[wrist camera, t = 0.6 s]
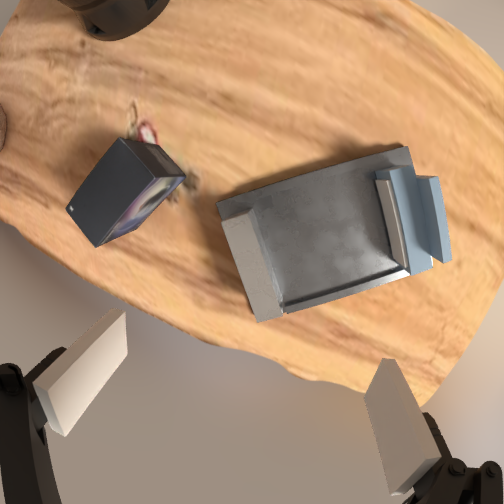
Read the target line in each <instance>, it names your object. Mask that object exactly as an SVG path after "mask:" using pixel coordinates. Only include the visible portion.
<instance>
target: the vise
mask: <svg viewBox="0 0 504 504" xmlns="http://www.w3.org/2000/svg"><path fill="white" fill-rule="evenodd" d="M397 165H413V162H412V159H411V155H410V152H409V148H408V146H405V147H401V148H396V149H392V150H388V151H384V152H381V153H377V154H373V155H369V156H365V157H361V158H358V159H354V160H350V161H347V162H343V163H340V164H336V165H333V166H329V167H326V168H322V169H319V170H315V171H312V172H309V173H305V174H302V175H299V176H295V177H292V178H289V179H286V180H283V181H279V182H276V183H273V184H270V185H267V186H264V187H261V188H258V189H255V190H252V191H249V192H246V193H243V194H240V195H237V196H234V197H231V198H228V199H225V200H222V201H220V202H217V203H216V205H217V208H218V211H219V214H220V216H221V219H222V222H221V224H222V227H223V230H224V233H225V236H226V238H227V241H228V244H229V247H230V249H231V252H232V255H233V258H234V261H235V263H236V266H237V269H238V272H239V274H240V277H241V280H242V283H243V285H244V288H245V291H246V293H247V296H248V299H249V301H250V304H251V307H252V310H253V312H254V315H255V318H256V320H257V323H258V322H262V321H266V320H270V319H274V318H277V317H281V316H283V313H285V312H287V314H288V313H292V312H296V311H299V310H303V309H306V308H310V307H313V306H317V305H320V304H323V303H327V302H330V301H333V300H336V299H340V298H343V297H346V296H349V295H352V294H356V293H359V292H362V291H365V290H368V289H371V288H374V287H377V286H380V285H383V284H386V283H389V282H392V281H394V280H397V279H400V278H403V277H406V276H408V275H410V274H409V273H407V272H406V271H405V270H404V269H403V268H401V267H400V266H399V265H398V264H397V263H396V260H395V259H394V258H393V254H392V249H391V244H390V239H389V234H388V229H387V225H386V221H385V216H384V212H383V208H382V204H381V200H380V196H379V192H378V189H377V185H376V181H375V180H377V177H376V173H375V171H378V170H381V169H385V168H389V167H392V166H397ZM413 167H414V166H413ZM414 171H415V170H414ZM415 175H416V174H415ZM431 258H432V256H431ZM432 265H433V263H432Z"/></svg>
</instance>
